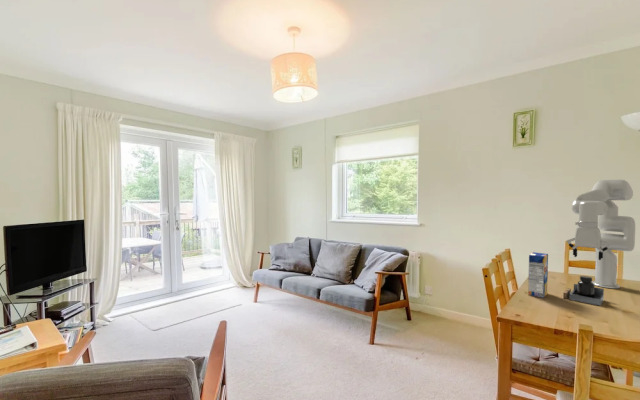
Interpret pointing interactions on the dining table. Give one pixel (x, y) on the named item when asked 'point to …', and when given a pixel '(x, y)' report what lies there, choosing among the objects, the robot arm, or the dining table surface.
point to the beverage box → (538, 274)
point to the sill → (566, 293)
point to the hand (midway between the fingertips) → (587, 258)
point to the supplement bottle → (586, 287)
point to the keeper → (596, 300)
